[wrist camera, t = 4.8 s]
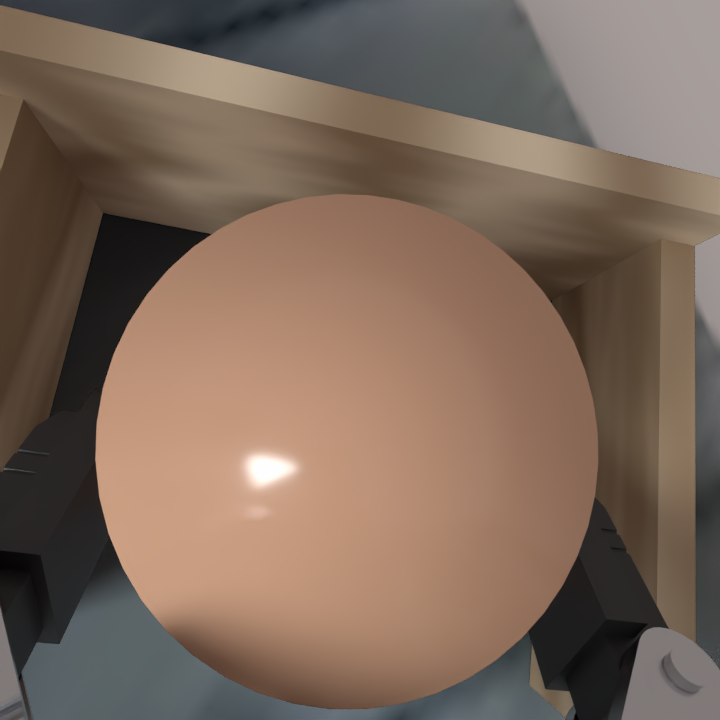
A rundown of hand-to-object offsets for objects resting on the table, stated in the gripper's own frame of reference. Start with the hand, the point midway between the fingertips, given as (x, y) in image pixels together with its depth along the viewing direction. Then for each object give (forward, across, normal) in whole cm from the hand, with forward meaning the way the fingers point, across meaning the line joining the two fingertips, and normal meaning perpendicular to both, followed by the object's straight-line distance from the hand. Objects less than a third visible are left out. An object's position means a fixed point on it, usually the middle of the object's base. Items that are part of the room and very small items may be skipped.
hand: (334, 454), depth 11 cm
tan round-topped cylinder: (+4, 0, +4) cm, 6 cm away
